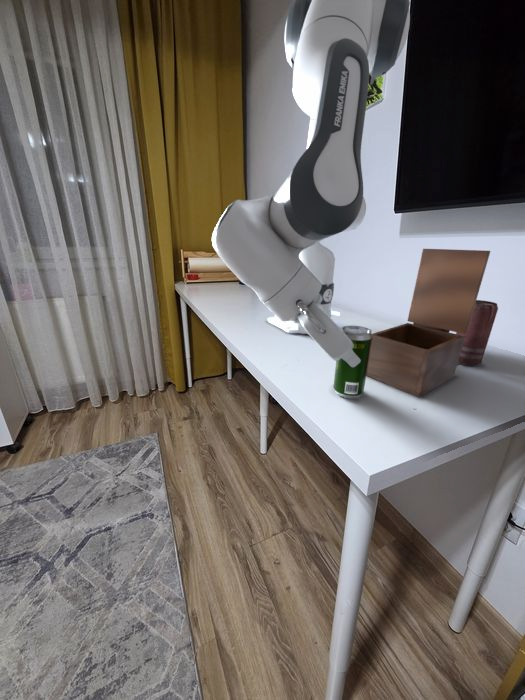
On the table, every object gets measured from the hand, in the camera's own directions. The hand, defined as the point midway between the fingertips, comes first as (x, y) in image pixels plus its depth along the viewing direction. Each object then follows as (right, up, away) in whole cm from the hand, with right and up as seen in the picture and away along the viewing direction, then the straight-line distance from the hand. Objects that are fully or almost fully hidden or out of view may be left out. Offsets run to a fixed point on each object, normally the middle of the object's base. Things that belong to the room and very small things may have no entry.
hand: (347, 352), depth 50 cm
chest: (+16, -5, +10) cm, 19 cm away
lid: (+21, +12, +8) cm, 26 cm away
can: (+32, -3, +17) cm, 37 cm away
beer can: (+1, -8, +3) cm, 8 cm away
